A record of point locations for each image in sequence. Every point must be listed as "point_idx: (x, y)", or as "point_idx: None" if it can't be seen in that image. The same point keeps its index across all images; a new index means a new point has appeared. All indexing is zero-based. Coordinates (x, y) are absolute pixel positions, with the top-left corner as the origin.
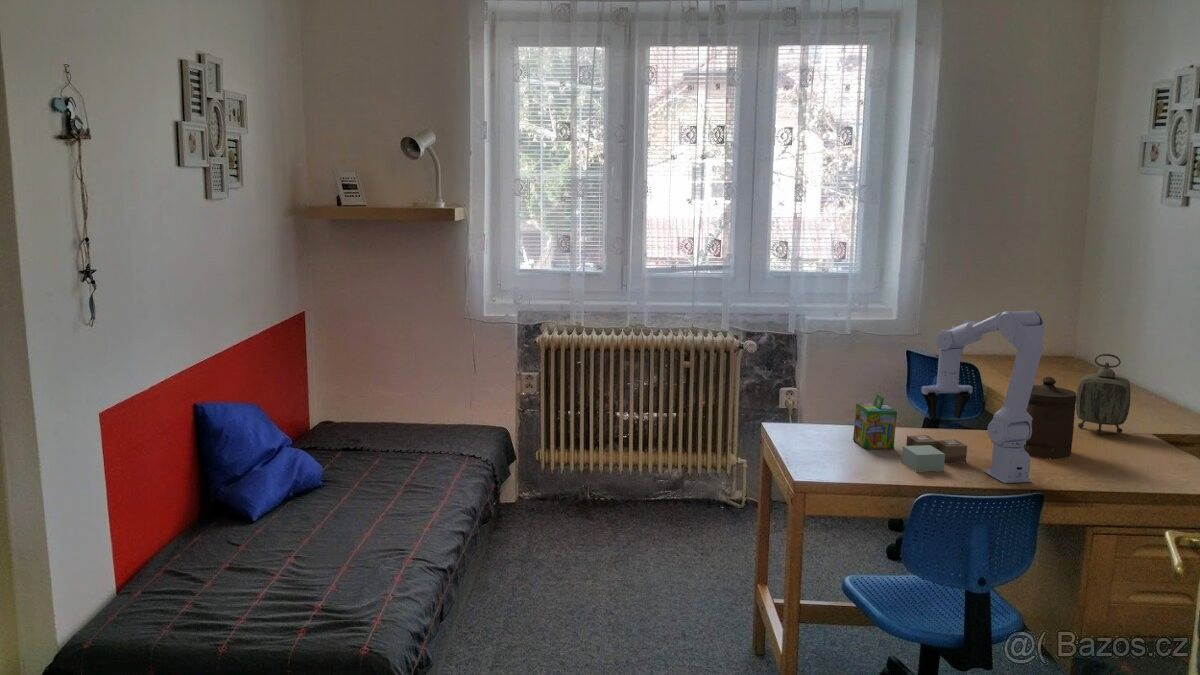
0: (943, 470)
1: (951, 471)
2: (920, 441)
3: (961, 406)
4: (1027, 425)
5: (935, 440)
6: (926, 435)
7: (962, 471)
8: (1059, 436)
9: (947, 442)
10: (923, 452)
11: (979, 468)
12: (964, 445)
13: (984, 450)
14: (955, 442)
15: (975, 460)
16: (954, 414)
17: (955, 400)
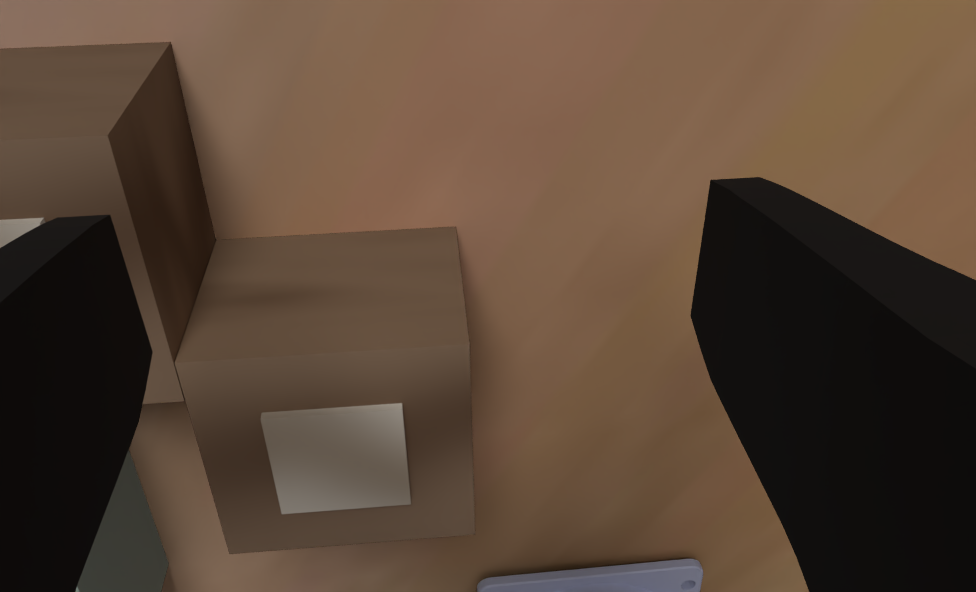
0: (163, 568)
1: (231, 566)
2: None
3: (820, 573)
4: None
5: (167, 374)
6: (99, 148)
7: (322, 565)
8: None
9: (288, 467)
10: None
11: (500, 513)
12: (452, 525)
13: (951, 41)
14: (390, 467)
15: (597, 348)
16: (725, 209)
17: (946, 420)
